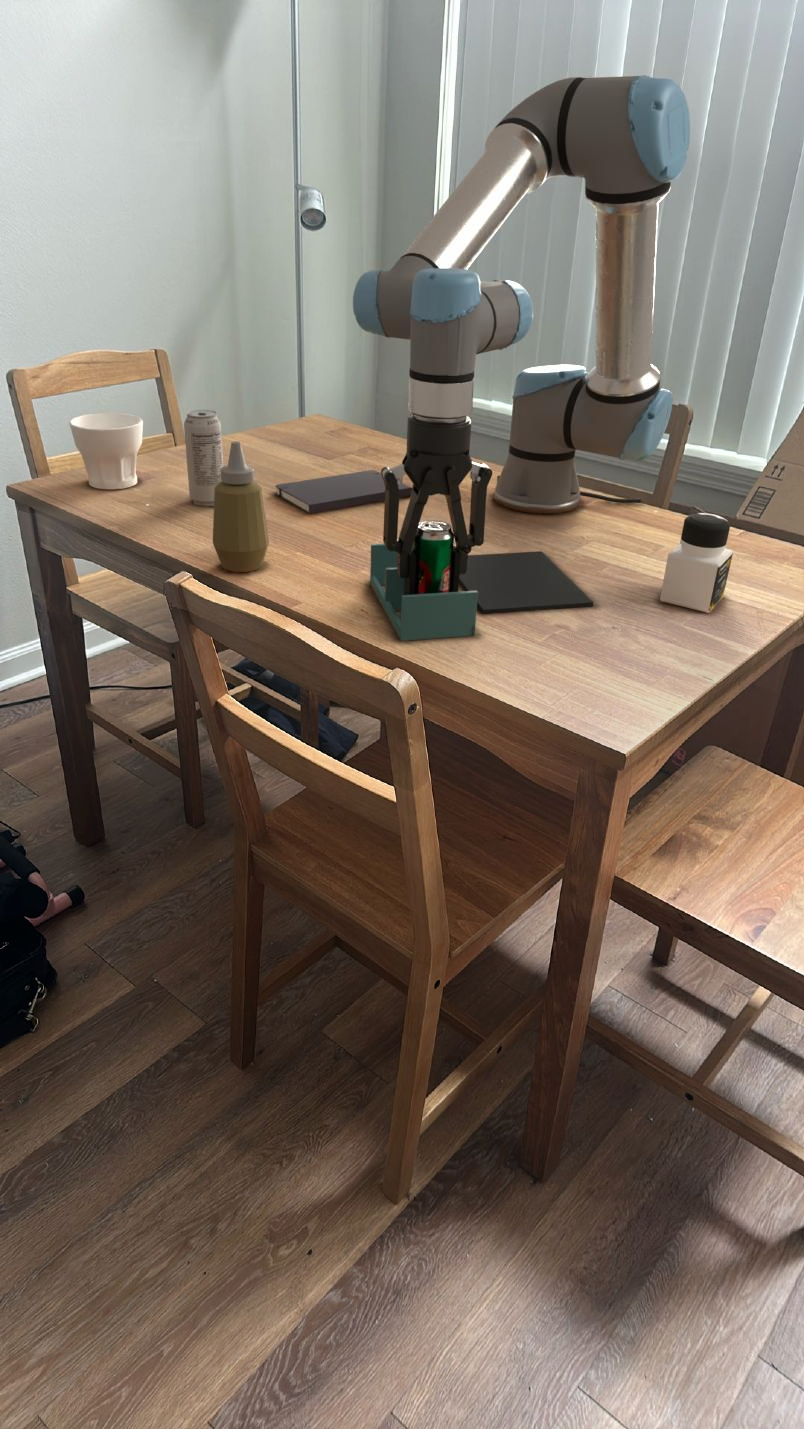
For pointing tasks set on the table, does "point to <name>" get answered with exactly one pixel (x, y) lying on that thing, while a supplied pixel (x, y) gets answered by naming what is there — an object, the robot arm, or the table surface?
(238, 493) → the squeeze bottle
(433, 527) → the soda can
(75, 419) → the cup
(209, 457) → the energy drink can
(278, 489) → the notebook
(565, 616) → the table surface
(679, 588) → the medicine bottle
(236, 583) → the table surface
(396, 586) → the frame
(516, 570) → the mat
